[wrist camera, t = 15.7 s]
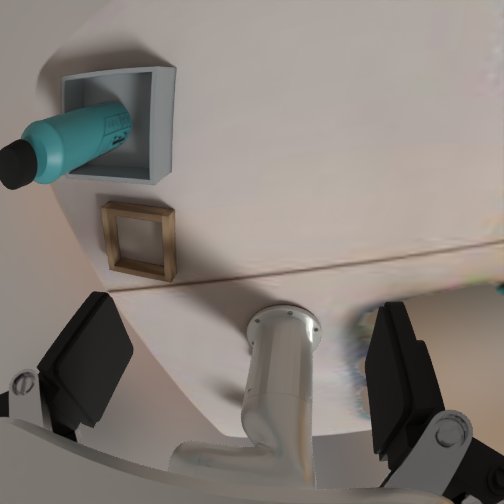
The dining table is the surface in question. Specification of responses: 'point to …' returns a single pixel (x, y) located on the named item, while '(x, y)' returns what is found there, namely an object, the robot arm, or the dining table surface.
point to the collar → (144, 213)
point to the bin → (142, 121)
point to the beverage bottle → (63, 144)
